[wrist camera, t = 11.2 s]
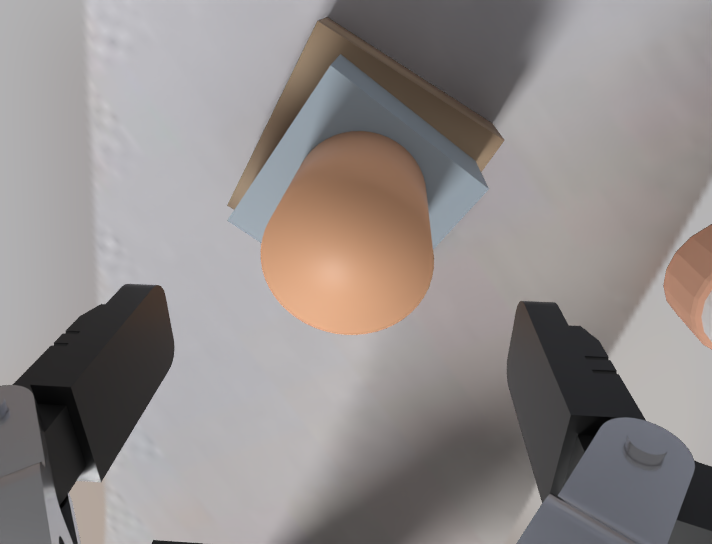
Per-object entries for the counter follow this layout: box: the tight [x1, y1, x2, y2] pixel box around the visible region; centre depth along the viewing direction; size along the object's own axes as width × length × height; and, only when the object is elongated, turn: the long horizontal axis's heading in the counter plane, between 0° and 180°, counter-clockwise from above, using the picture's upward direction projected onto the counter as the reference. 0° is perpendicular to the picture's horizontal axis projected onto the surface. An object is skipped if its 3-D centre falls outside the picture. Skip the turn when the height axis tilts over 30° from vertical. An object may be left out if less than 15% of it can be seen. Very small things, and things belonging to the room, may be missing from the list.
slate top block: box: [227, 54, 489, 249], centre depth 24 cm, size 8×8×4 cm
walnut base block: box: [227, 17, 504, 210], centre depth 27 cm, size 10×10×4 cm
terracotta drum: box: [261, 131, 434, 335], centre depth 19 cm, size 6×6×6 cm
